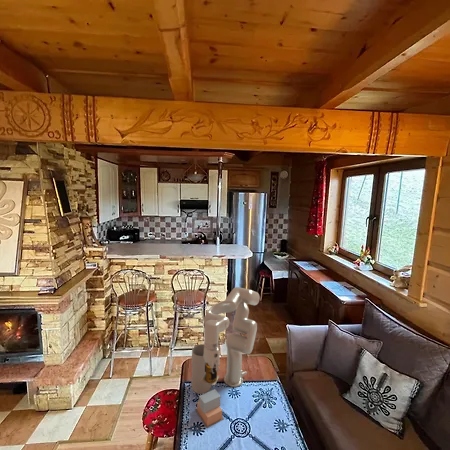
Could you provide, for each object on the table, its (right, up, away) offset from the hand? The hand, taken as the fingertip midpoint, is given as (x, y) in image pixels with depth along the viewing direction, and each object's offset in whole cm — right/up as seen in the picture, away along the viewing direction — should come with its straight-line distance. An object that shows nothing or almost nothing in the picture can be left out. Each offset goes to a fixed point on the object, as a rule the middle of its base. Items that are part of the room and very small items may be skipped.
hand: (210, 374), depth 144 cm
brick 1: (-1, -19, +2) cm, 19 cm away
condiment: (0, -3, +1) cm, 3 cm away
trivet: (-1, -24, +3) cm, 24 cm away
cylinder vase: (-7, -22, +24) cm, 33 cm away
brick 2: (-1, -23, +3) cm, 24 cm away
